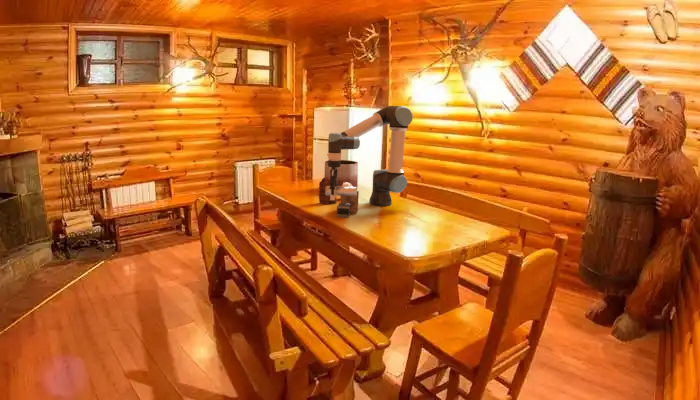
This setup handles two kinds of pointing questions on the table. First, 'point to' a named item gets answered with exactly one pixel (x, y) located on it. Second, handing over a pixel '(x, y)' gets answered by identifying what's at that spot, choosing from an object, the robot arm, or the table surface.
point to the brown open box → (351, 202)
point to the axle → (342, 191)
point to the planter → (345, 172)
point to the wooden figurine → (322, 185)
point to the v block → (343, 210)
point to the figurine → (346, 185)
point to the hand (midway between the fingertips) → (333, 198)
